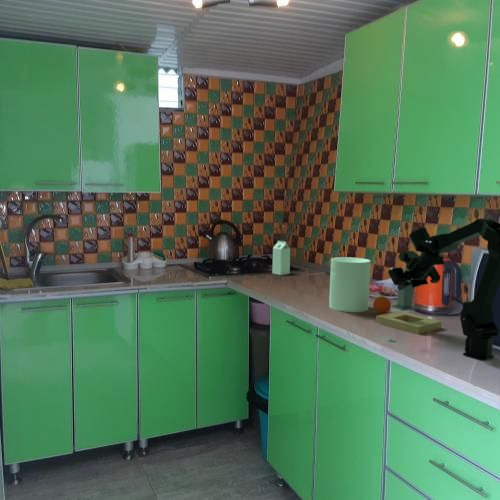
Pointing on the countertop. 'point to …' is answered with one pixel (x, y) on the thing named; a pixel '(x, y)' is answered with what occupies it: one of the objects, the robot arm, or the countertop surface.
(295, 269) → the countertop surface
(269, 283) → the countertop surface
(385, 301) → the clementine
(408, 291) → the bracket
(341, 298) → the canister
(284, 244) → the milk carton
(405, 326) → the olive square-hole block
